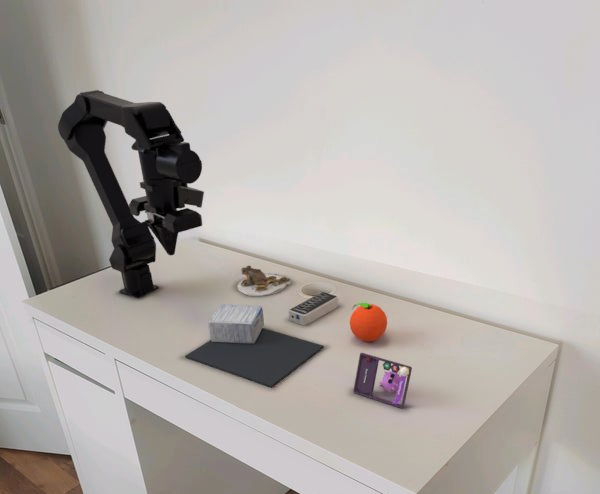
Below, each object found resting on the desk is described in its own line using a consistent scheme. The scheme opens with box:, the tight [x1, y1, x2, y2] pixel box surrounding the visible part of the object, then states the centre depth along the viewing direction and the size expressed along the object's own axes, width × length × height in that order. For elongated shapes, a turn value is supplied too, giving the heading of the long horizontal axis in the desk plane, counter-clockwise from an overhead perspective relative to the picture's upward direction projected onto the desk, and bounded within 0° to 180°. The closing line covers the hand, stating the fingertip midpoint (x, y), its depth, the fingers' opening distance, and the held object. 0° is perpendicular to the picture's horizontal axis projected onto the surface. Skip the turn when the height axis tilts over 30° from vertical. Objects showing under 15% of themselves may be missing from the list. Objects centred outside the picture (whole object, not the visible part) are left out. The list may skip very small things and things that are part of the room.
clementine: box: [349, 302, 388, 343], centre depth 114 cm, size 8×7×7 cm
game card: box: [352, 352, 413, 409], centre depth 99 cm, size 7×5×9 cm
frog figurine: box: [237, 265, 292, 297], centre depth 139 cm, size 12×12×4 cm
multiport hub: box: [288, 291, 339, 327], centre depth 126 cm, size 4×11×2 cm, turn 139°
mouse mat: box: [184, 327, 325, 388], centre depth 113 cm, size 20×16×1 cm
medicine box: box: [208, 303, 265, 344], centre depth 118 cm, size 8×4×9 cm
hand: (171, 254), depth 125 cm, fingers closed
